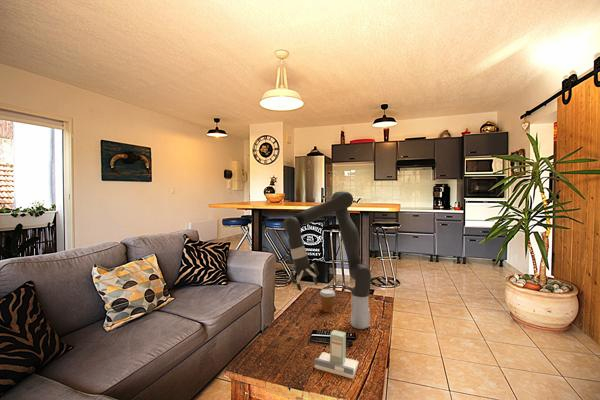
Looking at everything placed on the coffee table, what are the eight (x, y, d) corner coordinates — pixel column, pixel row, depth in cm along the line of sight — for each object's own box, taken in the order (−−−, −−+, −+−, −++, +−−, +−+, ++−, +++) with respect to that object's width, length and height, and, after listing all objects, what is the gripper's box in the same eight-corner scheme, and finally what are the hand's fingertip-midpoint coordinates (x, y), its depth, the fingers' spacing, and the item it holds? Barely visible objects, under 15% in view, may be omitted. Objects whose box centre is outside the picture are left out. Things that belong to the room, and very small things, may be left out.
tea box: (332, 357, 119) (333, 329, 119) (345, 360, 117) (345, 332, 117) (329, 362, 116) (330, 334, 116) (342, 366, 113) (343, 337, 113)
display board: (322, 355, 123) (322, 347, 123) (358, 364, 117) (358, 356, 117) (314, 368, 114) (314, 359, 114) (352, 379, 108) (352, 370, 108)
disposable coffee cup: (330, 314, 165) (331, 295, 165) (316, 311, 170) (317, 291, 170) (337, 309, 173) (337, 290, 173) (323, 306, 178) (324, 287, 178)
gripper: (288, 261, 132) (297, 294, 132) (315, 252, 137) (323, 284, 136) (284, 259, 139) (293, 291, 139) (310, 251, 144) (318, 281, 143)
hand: (308, 287), depth 137 cm, fingers open, 8 cm apart
